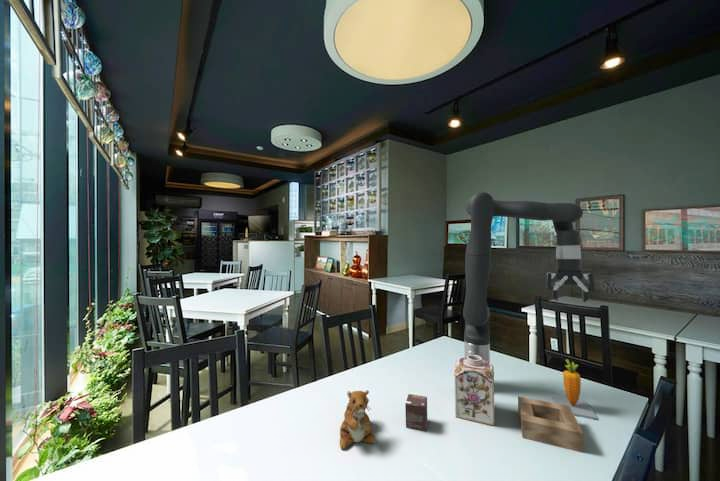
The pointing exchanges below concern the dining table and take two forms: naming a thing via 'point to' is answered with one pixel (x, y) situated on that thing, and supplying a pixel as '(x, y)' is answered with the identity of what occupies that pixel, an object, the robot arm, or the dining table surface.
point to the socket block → (549, 423)
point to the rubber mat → (577, 407)
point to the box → (416, 412)
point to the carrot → (572, 383)
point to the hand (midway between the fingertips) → (569, 301)
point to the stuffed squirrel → (356, 420)
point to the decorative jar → (474, 389)
